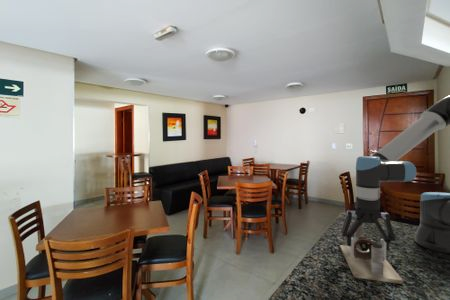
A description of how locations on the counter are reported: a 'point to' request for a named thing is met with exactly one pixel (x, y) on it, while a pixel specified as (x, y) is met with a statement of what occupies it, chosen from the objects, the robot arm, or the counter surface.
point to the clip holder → (370, 262)
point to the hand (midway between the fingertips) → (367, 255)
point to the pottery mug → (363, 248)
